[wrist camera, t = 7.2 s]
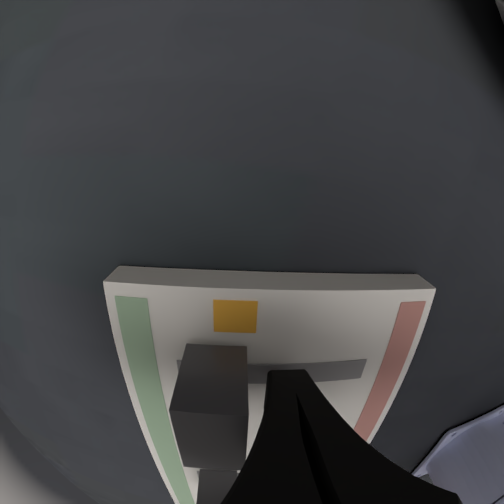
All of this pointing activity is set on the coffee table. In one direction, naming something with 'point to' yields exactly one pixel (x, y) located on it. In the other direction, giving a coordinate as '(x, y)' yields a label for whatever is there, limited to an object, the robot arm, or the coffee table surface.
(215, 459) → the block
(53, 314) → the coffee table surface
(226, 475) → the breaker
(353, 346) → the breaker panel
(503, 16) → the puzzle ball
